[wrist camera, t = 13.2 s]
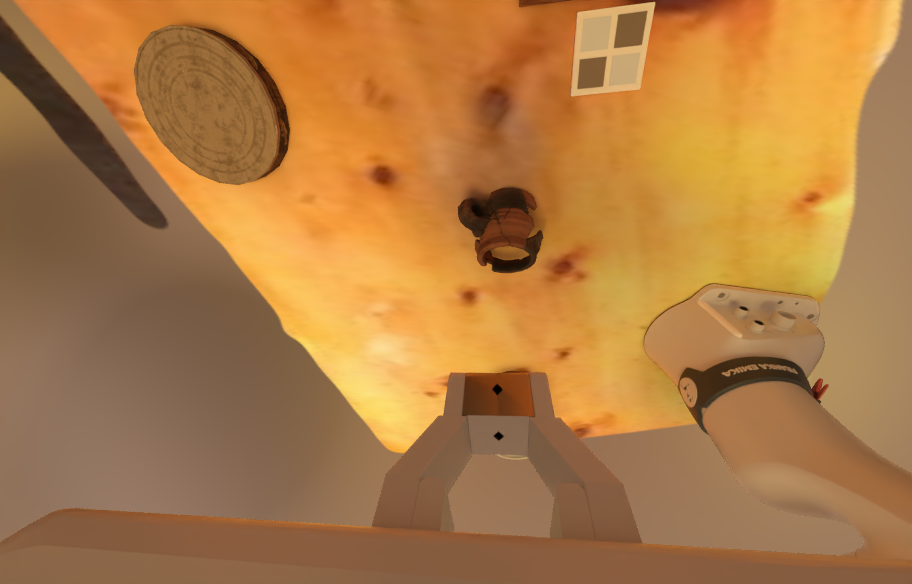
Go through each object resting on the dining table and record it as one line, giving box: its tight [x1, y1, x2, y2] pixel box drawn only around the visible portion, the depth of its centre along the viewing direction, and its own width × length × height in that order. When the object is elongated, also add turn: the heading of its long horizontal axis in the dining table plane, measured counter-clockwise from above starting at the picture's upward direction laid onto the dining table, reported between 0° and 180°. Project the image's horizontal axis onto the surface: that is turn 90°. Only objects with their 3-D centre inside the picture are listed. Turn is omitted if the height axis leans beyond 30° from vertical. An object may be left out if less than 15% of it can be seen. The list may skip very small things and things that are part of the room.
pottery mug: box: [458, 188, 543, 273], centre depth 42 cm, size 12×10×8 cm
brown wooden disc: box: [134, 25, 290, 185], centre depth 39 cm, size 16×16×3 cm
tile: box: [570, 2, 655, 96], centre depth 33 cm, size 7×7×1 cm
